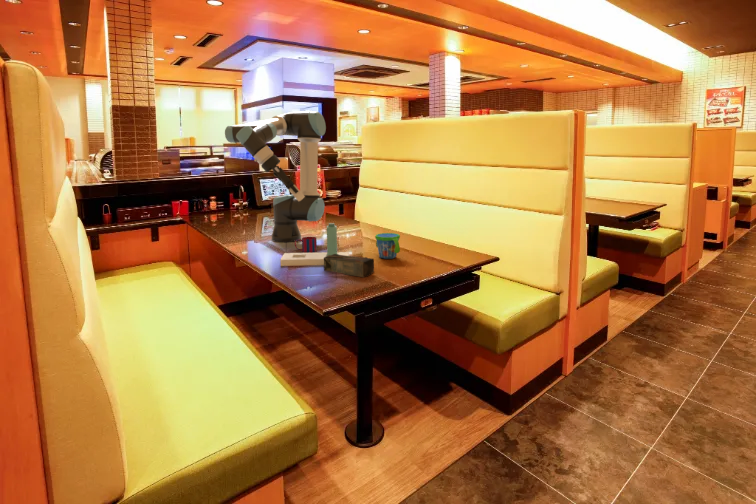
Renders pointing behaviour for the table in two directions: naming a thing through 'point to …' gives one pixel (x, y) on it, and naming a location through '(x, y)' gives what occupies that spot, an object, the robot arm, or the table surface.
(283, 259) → the socket panel
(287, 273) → the table surface
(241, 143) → the robot arm
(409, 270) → the table surface
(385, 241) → the sippy cup
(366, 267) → the beverage carton
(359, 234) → the table surface
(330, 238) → the plug
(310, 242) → the cup
